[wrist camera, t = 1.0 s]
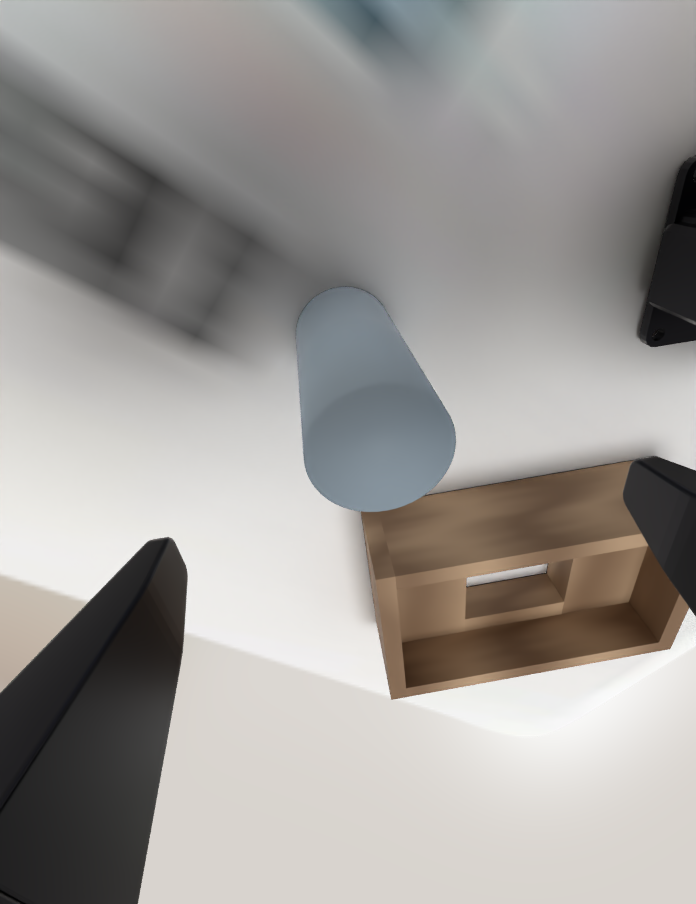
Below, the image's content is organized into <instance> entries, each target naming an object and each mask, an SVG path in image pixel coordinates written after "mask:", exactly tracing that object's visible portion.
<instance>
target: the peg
mask: <svg viewBox="0 0 696 904" xmlns="http://www.w3.org/2000/svg"><path fill="white" fill-rule="evenodd" d="M296 346H297V362H298V377H299V393H300V408H301V423H302V439H303V454H304V464H305V468H306V472H307V474H308V477H309V479H310V481H311V482H312V484H313V485H314V487H315V488H316V489H317V490H318V491H319V492H320V493H321V494H322V495H323V496H324V497H325V498H327V499H328V500H330V501H331V502H333V503H335V504H337V505H339V506H341V507H344V508H347V509H351V510H356V511H363V512H380V511H387V510H392V509H396V508H399V507H402V506H405V505H407V504H409V503H412V502H414V501H415V500H417V499H419V498H421V497H422V496H424V495H425V494H426V493H428V492H429V491H430V490H431V489H432V488H434V487H435V486H436V485H437V483H438V482H439V481H440V480H441V479H442V477H443V476H444V475H445V473H446V472H447V470H448V468H449V466H450V464H451V462H452V459H453V456H454V452H455V445H456V436H455V429H454V425H453V422H452V420H451V417H450V415H449V414H448V412H447V410H446V409H445V407H444V405H443V404H442V402H441V400H440V399H439V397H438V396H437V394H436V392H435V391H434V389H433V387H432V386H431V384H430V382H429V381H428V379H427V377H426V376H425V374H424V372H423V371H422V369H421V368H420V366H419V364H418V363H417V361H416V359H415V358H414V356H413V354H412V353H411V351H410V349H409V348H408V346H407V345H406V343H405V341H404V340H403V338H402V336H401V335H400V333H399V331H398V330H397V328H396V326H395V325H394V323H393V321H392V320H391V318H390V317H389V315H388V313H387V312H386V310H385V308H384V307H383V305H382V304H381V303H380V302H379V301H378V300H377V299H376V298H375V297H374V296H373V295H371V294H370V293H368V292H366V291H364V290H361V289H358V288H353V287H337V288H332V289H329V290H326V291H324V292H322V293H320V294H319V295H317V296H316V297H314V298H313V299H312V300H311V301H310V302H309V303H308V304H307V305H306V307H305V308H304V310H303V311H302V313H301V315H300V317H299V320H298V323H297V328H296Z"/></svg>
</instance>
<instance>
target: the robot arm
mask: <svg viewBox="0 0 696 904" xmlns="http://www.w3.org/2000/svg"><path fill="white" fill-rule="evenodd" d="M695 170H696V156H693V157H691V158H689V159H688V160H687V161H685V162H684V164H683V165H682V166H681V168H680V170H679V172H678V175H677V179H676V183H675V187H674V191H673V195H672V200H671V204H670V208H669V212H668V216H667V221H666V225H665V229H664V233H663V236H662V240H661V244H660V249H659V253H658V257H657V261H656V265H655V270H654V274H653V278H652V282H651V287H650V291H649V295H648V301H647V305H646V309H645V313H644V317H643V322H642V326H641V330H640V340H641V341H642V342H643V343H645V344H647V345H649V346H650V347H658V346H664V345H670V344H676V343H682V342H688V341H694V340H696V178H695V179H694V180H693V174H694V171H695ZM656 330H658V332H657V334H656V335H654V336H653V337H652V335H653V333H654V332H655V331H656ZM623 500H624V503H625V505H626V507H627V509H628V511H629V512H630V514H631V516H632V518H633V519H634V521H635V523H636V525H637V526H638V528H639V530H640V532H641V533H642V535H643V537H644V539H645V540H646V542H647V544H648V546H649V547H650V549H651V551H652V553H653V554H654V556H655V558H656V560H657V561H658V563H659V565H660V566H661V568H662V569H663V571H664V572H665V574H666V575H667V577H668V578H669V580H670V581H671V583H672V584H673V585H674V587H675V588H676V590H677V591H678V592H679V594H680V595H681V597H682V598H683V599H684V601H685V602H686V603H687V605H688V606H689V608H690V609H691V610H692V612H693V613H694V615H695V616H696V471H695V470H692V469H690V468H687V467H684V466H681V465H679V464H676V463H673V462H670V461H668V460H665V459H662V458H659V457H647V458H641V459H636V460H634V461H633V462H632V463H631V464H630V467H629V471H628V474H627V478H626V482H625V485H624V489H623ZM187 578H188V576H187V569H186V565H185V563H184V561H183V559H182V557H181V554H180V552H179V550H178V548H177V546H176V544H175V542H174V540H173V539H172V538H169V537H165V538H159V539H153V540H150V541H148V542H147V543H146V544H145V545H144V546H143V547H142V548H141V549H140V550H139V551H138V552H137V553H136V554H135V555H134V556H133V557H132V558H131V559H130V560H129V561H128V562H127V563H126V564H125V565H124V566H123V567H122V568H121V569H120V570H119V571H118V572H117V573H116V574H115V575H114V577H113V578H112V579H111V580H110V581H109V582H108V583H107V584H106V585H105V586H104V587H103V588H102V589H101V590H100V591H99V592H98V593H97V594H96V595H95V596H94V597H93V598H92V599H91V600H90V601H89V602H88V603H87V604H86V605H85V606H84V607H83V608H82V609H81V611H79V613H78V614H77V615H76V616H75V617H74V618H73V619H72V620H71V621H70V622H69V623H68V624H67V625H66V626H65V627H64V628H63V629H62V630H61V631H60V632H59V633H58V634H57V635H56V636H55V637H54V638H53V639H52V640H51V641H50V642H49V643H48V644H47V645H46V647H45V648H43V650H42V651H41V652H40V653H39V654H38V655H37V656H36V657H35V658H34V659H33V660H32V661H31V662H30V663H29V664H28V665H27V666H26V667H25V668H24V669H23V670H22V671H21V672H20V673H19V674H18V675H17V676H16V677H15V678H14V679H13V680H12V681H11V683H9V684H8V686H7V687H6V688H5V689H4V690H3V691H2V692H1V693H0V904H138V899H139V894H140V888H141V883H142V876H143V871H144V866H145V861H146V854H147V849H148V844H149V838H150V833H151V826H152V821H153V816H154V810H155V805H156V798H157V794H158V788H159V783H160V777H161V771H162V766H163V760H164V754H165V749H166V744H167V738H168V732H169V727H170V721H171V715H172V710H173V704H174V699H175V693H176V688H177V682H178V676H179V671H180V665H181V659H182V653H183V642H184V627H185V611H186V595H187Z"/></svg>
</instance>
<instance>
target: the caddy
mask: <svg viewBox="0 0 696 904" xmlns="http://www.w3.org/2000/svg"><path fill="white" fill-rule="evenodd" d="M656 457H657V456H656ZM633 461H634V460H632V461H627V462H621V463H615V464H609V465H603V466H597V467H591V468H586V469H580V470H574V471H568V472H562V473H556V474H550V475H544V476H539V477H533V478H527V479H521V480H515V481H509V482H503V483H497V484H492V485H486V486H480V487H474V488H468V489H462V490H456V491H450V492H445V493H439V494H433V495H427V496H422V497H421V498H419V499H417V500H415V501H414V502H412V503H409V504H407V505H405V506H402V507H399V508H396V509H392V510H387V511H380V512H363V511H361V516H362V523H363V530H364V537H365V544H366V552H367V559H368V566H369V573H370V580H371V587H372V594H373V601H374V608H375V615H376V622H377V628H378V633H379V638H380V643H381V648H382V654H383V659H384V664H385V669H386V674H387V679H388V685H389V690H390V695H391V699H398V698H403V697H409V696H414V695H420V694H425V693H431V692H436V691H442V690H447V689H453V688H458V687H464V686H469V685H475V684H480V683H486V682H491V681H497V680H502V679H508V678H513V677H519V676H524V675H530V674H535V673H541V672H546V671H552V670H557V669H563V668H568V667H574V666H579V665H585V664H590V663H596V662H601V661H607V660H612V659H618V658H623V657H629V656H634V655H640V654H645V653H651V652H656V651H662V650H667V649H670V648H671V646H672V644H673V642H674V640H675V637H676V635H677V633H678V631H679V629H680V626H681V624H682V622H683V620H684V618H685V615H686V613H687V611H688V609H689V606H688V605H687V603H686V602H685V601H684V599H683V598H682V597H681V595H680V594H679V592H678V591H677V590H676V588H675V587H674V585H673V584H672V583H671V581H670V580H669V578H668V577H667V575H666V574H665V572H664V571H663V569H662V568H661V566H660V565H659V563H658V561H657V560H656V558H655V556H654V554H653V553H652V551H651V549H650V547H649V546H648V544H647V542H646V540H645V539H644V537H643V535H642V533H641V532H640V530H639V528H638V526H637V525H636V523H635V521H634V519H633V518H632V516H631V514H630V512H629V511H628V509H627V507H626V505H625V503H624V500H623V489H624V485H625V482H626V478H627V474H628V471H629V467H630V464H631V463H632V462H633ZM546 563H548V568H547V573H545V574H540V575H534V576H528V577H523V578H517V579H511V580H506V581H500V582H494V583H489V584H483V585H477V586H472V587H466V578H467V577H472V576H478V575H484V574H489V573H495V572H501V571H506V570H512V569H518V568H524V567H529V566H535V565H541V564H546Z"/></svg>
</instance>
